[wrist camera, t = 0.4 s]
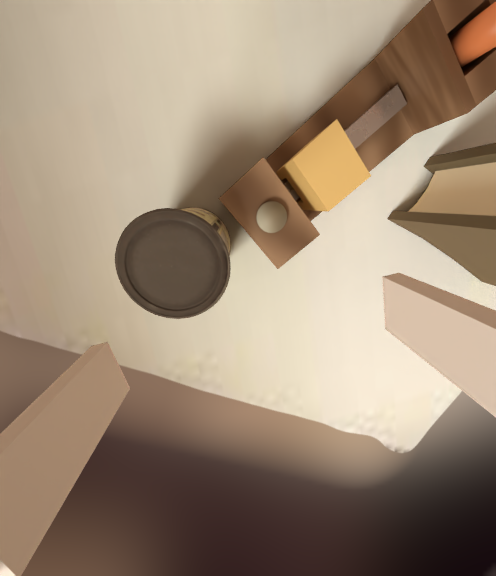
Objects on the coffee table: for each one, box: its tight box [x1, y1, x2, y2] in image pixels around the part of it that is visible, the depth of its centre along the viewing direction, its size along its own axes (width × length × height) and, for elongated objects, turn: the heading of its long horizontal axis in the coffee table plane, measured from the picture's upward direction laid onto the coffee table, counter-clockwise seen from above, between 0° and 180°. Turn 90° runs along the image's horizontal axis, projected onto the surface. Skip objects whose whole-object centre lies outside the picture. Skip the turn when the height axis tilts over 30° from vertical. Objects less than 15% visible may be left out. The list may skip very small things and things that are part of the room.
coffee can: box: [115, 208, 230, 319], centre depth 29 cm, size 10×10×14 cm
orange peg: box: [449, 1, 496, 67], centre depth 22 cm, size 3×3×6 cm
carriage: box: [276, 119, 371, 211], centre depth 27 cm, size 5×6×9 cm
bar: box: [283, 85, 407, 201], centre depth 30 cm, size 17×2×2 cm, turn 130°
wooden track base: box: [219, 0, 496, 269], centre depth 28 cm, size 30×10×10 cm, turn 130°
